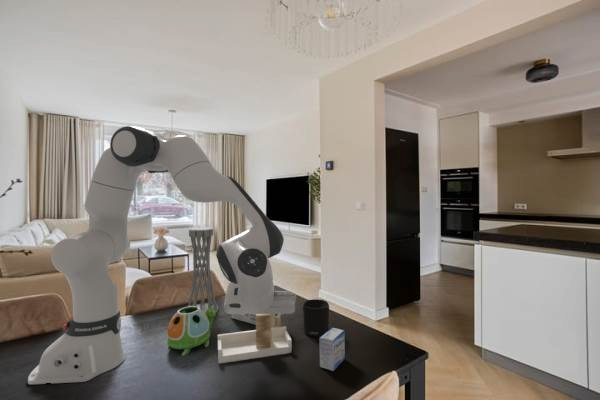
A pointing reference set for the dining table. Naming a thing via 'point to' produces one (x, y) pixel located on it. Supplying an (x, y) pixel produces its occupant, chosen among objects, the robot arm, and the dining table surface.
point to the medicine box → (332, 349)
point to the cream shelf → (251, 345)
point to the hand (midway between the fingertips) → (262, 315)
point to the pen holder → (315, 317)
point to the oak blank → (263, 331)
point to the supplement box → (275, 321)
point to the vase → (206, 235)
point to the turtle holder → (190, 328)
